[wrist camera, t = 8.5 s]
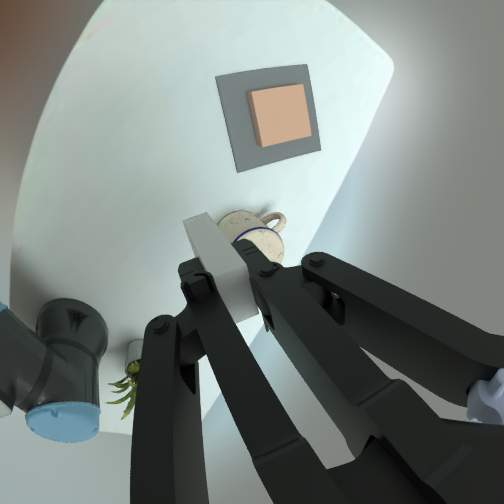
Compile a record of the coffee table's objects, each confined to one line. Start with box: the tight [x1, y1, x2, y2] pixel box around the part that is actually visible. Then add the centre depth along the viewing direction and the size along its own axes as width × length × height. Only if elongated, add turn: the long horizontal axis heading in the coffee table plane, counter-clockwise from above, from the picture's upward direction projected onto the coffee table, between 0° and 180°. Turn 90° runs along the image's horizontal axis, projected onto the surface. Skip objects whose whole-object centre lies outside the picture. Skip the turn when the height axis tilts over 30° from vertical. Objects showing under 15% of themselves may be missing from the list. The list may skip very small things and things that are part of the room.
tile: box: [247, 84, 312, 147], centre depth 42 cm, size 2×9×9 cm
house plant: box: [107, 339, 143, 420], centre depth 46 cm, size 14×14×16 cm
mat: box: [215, 64, 321, 173], centre depth 42 cm, size 16×16×1 cm
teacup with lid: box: [217, 211, 286, 264], centre depth 45 cm, size 12×9×12 cm
